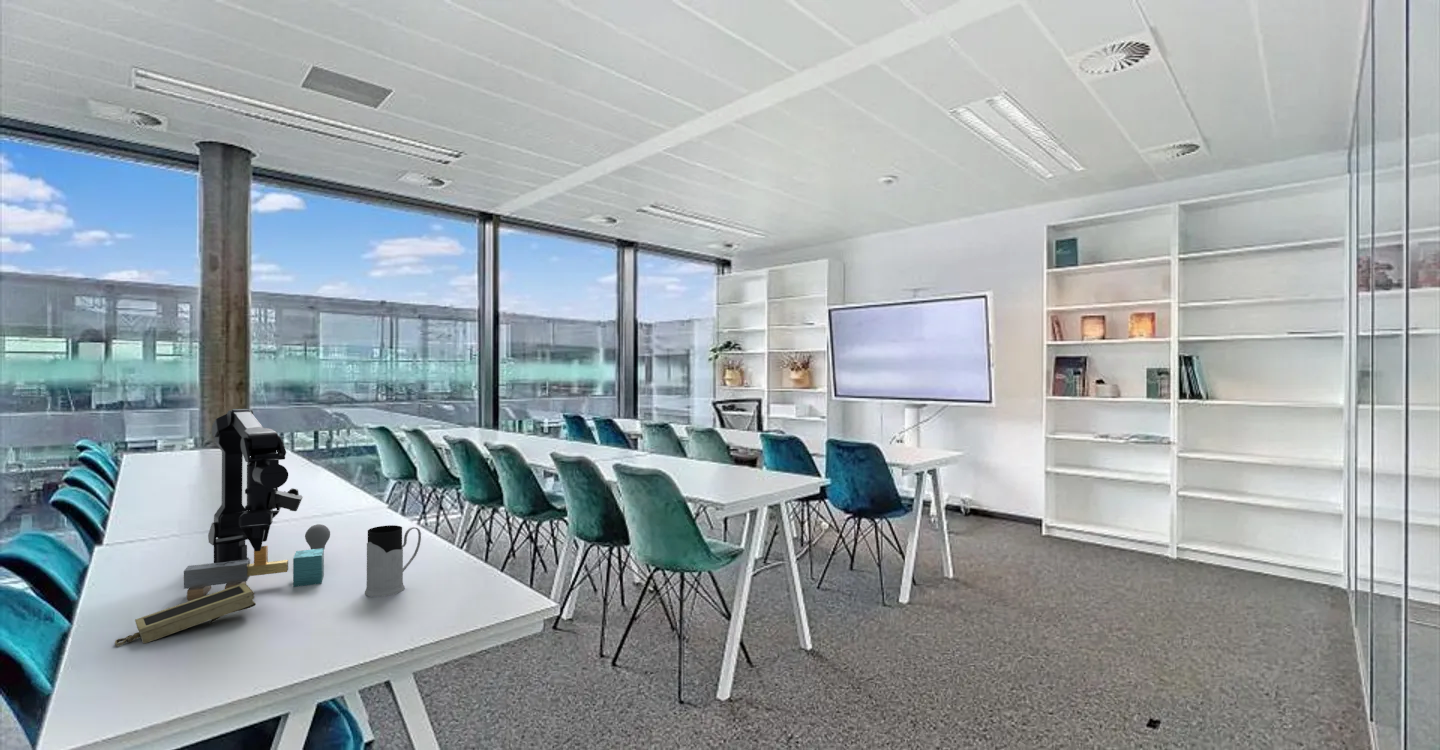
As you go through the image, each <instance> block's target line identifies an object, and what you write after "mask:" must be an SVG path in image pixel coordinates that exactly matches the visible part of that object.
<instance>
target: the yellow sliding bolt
mask: <svg viewBox="0 0 1440 750" xmlns="http://www.w3.org/2000/svg"><path fill="white" fill-rule="evenodd" d="M268 548H269V546H268V545H262V547H261V550H260V551H255V550H254V549H253V563H250V564H248V565H247V577H248V576H250V577H255V576H264V575H272V574H279V573H280V574H281V573H287V572H288V570H289V559H282V560H273V561H269V559H268V557H269V551H268V550H269V549H268Z"/></svg>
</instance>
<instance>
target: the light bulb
mask: <svg viewBox="0 0 1440 750" xmlns="http://www.w3.org/2000/svg"><path fill="white" fill-rule="evenodd" d="M330 537H331V531H330V528H329V527H327V526H326V525H324V524H319V523H317V524H315V525H311V526H310V527H309V528H308V529H307V530H306V532H305V534H304V538H305V542H306V543H307V545H308V546H309V547H310V550H311V549H321V548H324V550H325V549H326V544H327V543H328V541H329V540H330Z"/></svg>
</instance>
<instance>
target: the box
mask: <svg viewBox="0 0 1440 750" xmlns="http://www.w3.org/2000/svg"><path fill="white" fill-rule="evenodd" d="M254 599H255V592H254V591H253V589H252V588H251V587H249V585H248V584H247V583H246V584H245V583H242V584H239V585H236V586H233V587H230V588H227V589H225V588H224V589H222V590H219V591H216V592H212V593H210V594H207V595H206V596H203V597H201V598H198V599H195V600H191V601H186V602H183V603H180V604H176V605H173V606H171V607H167V608H165V609H161V610H159V611H157V612H153V613H151V614H150V613H149V614H147V615H144V616H141V617H139V618H135V620H134V622H135V625H136V628H137V632H135V633H133V634H132V635H130V634H129V635H127V636H126V637H121V638H117V639H115V642H114V644H115V647H122V646H123V645H124V644H126V643H132V642H133V641H135V640H137V639H140V640H141V641H142V643H143V644H147V643H149V642H153V641H157V640H158V639H161V638H164V637H166V636H170V635H172V634H175V633H178V632H182V631H184V630H187V629H188V628H192V627H195V626H198V625H200V624H203V623H205V622H208V621H209V624H210V625H211V624H212V623H214V622H215V621H217V620H219V619H220V618H222V617H224V616H226V615H229V614H233V613H236V612H237V613H238V612H240V611H244V610H247V609H251V608H252V607H253V608H254V607H255V606H256V605H257V604H256V602H255V600H254Z"/></svg>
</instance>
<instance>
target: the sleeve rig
mask: <svg viewBox="0 0 1440 750" xmlns="http://www.w3.org/2000/svg"><path fill="white" fill-rule="evenodd" d="M324 552H325V549H324V548H321V549H311V548H310V549H304V550H296V551H295V553H294V555H293V557H292V565H293V566H292V568H293V569H292V587H293V588H296V587H303V586H306V587H307V586H311V585H312V586H314V585H322V583H323V579H324V575H325V573H324V572H325V564H324V563H325V561H324V560H325V553H324ZM248 564H251V559H250V558H249V559H248V560H239V561H229V562H220V563H214V562H212V563H210V562H209V563H203V564H201V563H200V564H193V565H192V564H191V565H188V566H187V567H186V568H185V569H184V570H183V590H186V589H187V590H186V594H187V595H186V602H189V601H192V600H195V599H198V598H201V597H203V596H206V595H208V593H210V591H211V589H212V586H218V585H224V589H227V588H230V587H233V586H236V585H239V584H242V583H245V584H247V582H248V580H249V578H250V577H251V576H248V577H247V565H248Z"/></svg>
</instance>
